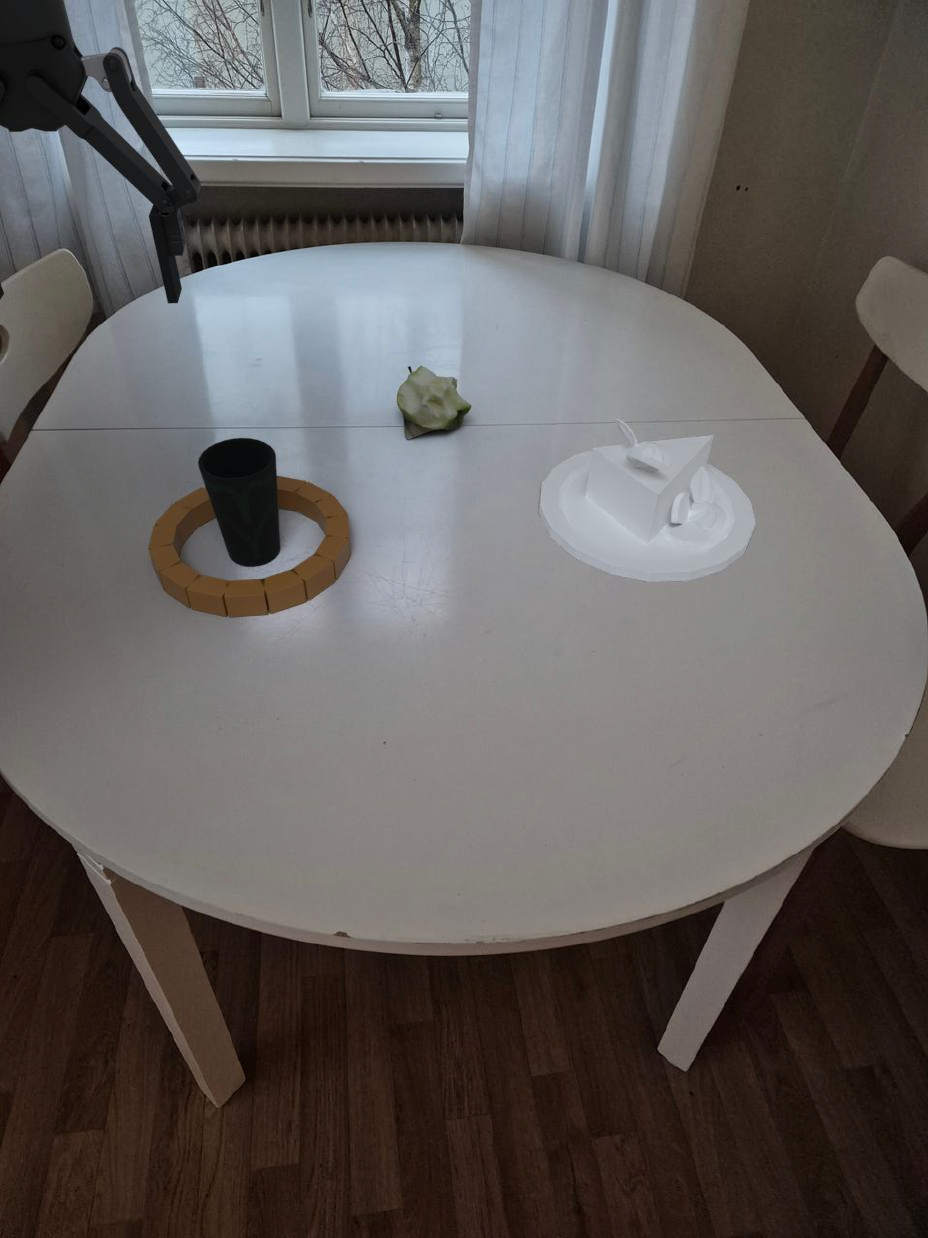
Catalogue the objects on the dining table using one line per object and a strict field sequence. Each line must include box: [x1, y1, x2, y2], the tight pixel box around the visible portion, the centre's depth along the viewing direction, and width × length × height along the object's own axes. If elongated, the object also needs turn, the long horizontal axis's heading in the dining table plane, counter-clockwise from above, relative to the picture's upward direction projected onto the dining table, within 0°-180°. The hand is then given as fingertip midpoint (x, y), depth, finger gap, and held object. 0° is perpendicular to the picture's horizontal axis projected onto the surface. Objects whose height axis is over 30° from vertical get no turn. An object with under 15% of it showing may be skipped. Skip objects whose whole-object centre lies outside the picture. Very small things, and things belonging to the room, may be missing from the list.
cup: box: [197, 437, 281, 568], centre depth 91 cm, size 8×8×12 cm
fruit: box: [396, 365, 472, 441], centre depth 113 cm, size 9×9×8 cm
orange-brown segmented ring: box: [148, 475, 352, 618], centre depth 94 cm, size 21×21×3 cm
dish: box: [538, 418, 756, 583], centre depth 97 cm, size 25×25×11 cm
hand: (85, 299), depth 67 cm, fingers open, 13 cm apart
